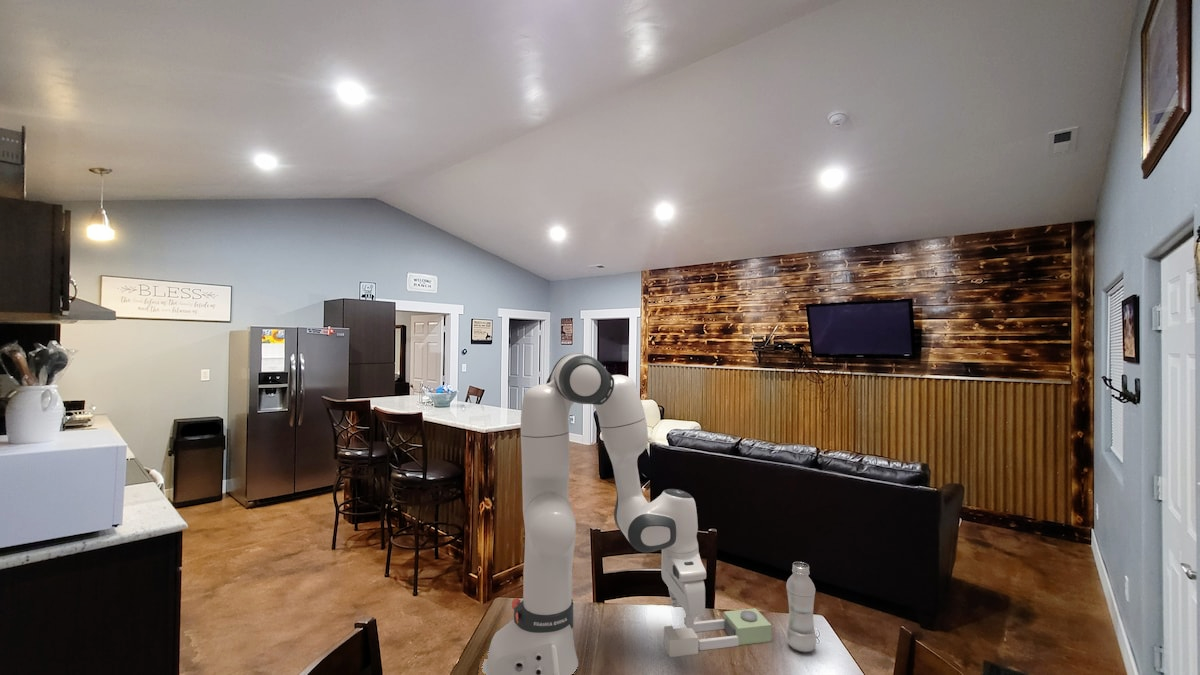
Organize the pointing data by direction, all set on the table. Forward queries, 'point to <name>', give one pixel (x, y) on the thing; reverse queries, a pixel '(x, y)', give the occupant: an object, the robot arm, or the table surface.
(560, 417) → the robot arm
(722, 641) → the pale green forked block
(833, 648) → the table surface
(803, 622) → the plastic bottle
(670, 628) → the white stepped block
